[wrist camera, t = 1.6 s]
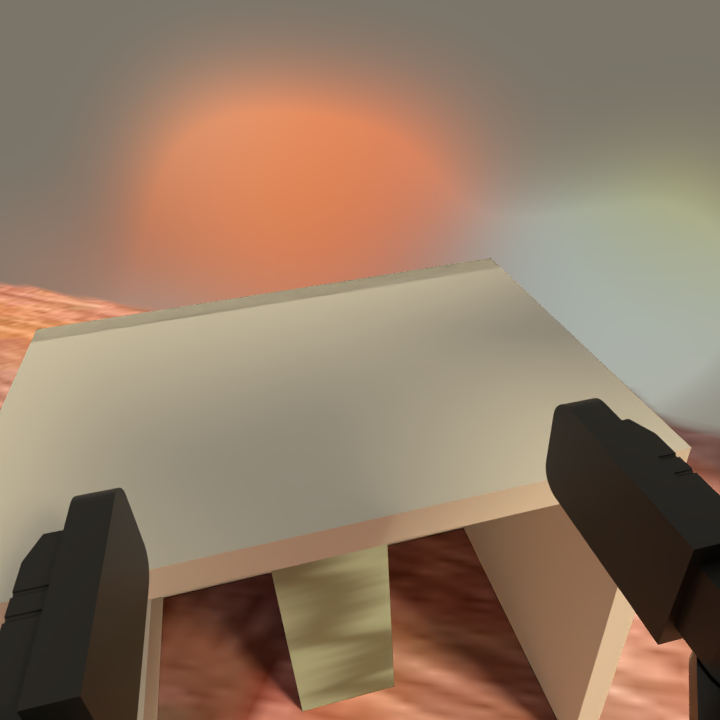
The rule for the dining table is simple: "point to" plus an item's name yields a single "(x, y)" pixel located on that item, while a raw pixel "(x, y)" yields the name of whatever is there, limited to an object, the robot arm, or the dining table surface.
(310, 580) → the sage block
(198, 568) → the cubby
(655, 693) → the dining table surface
